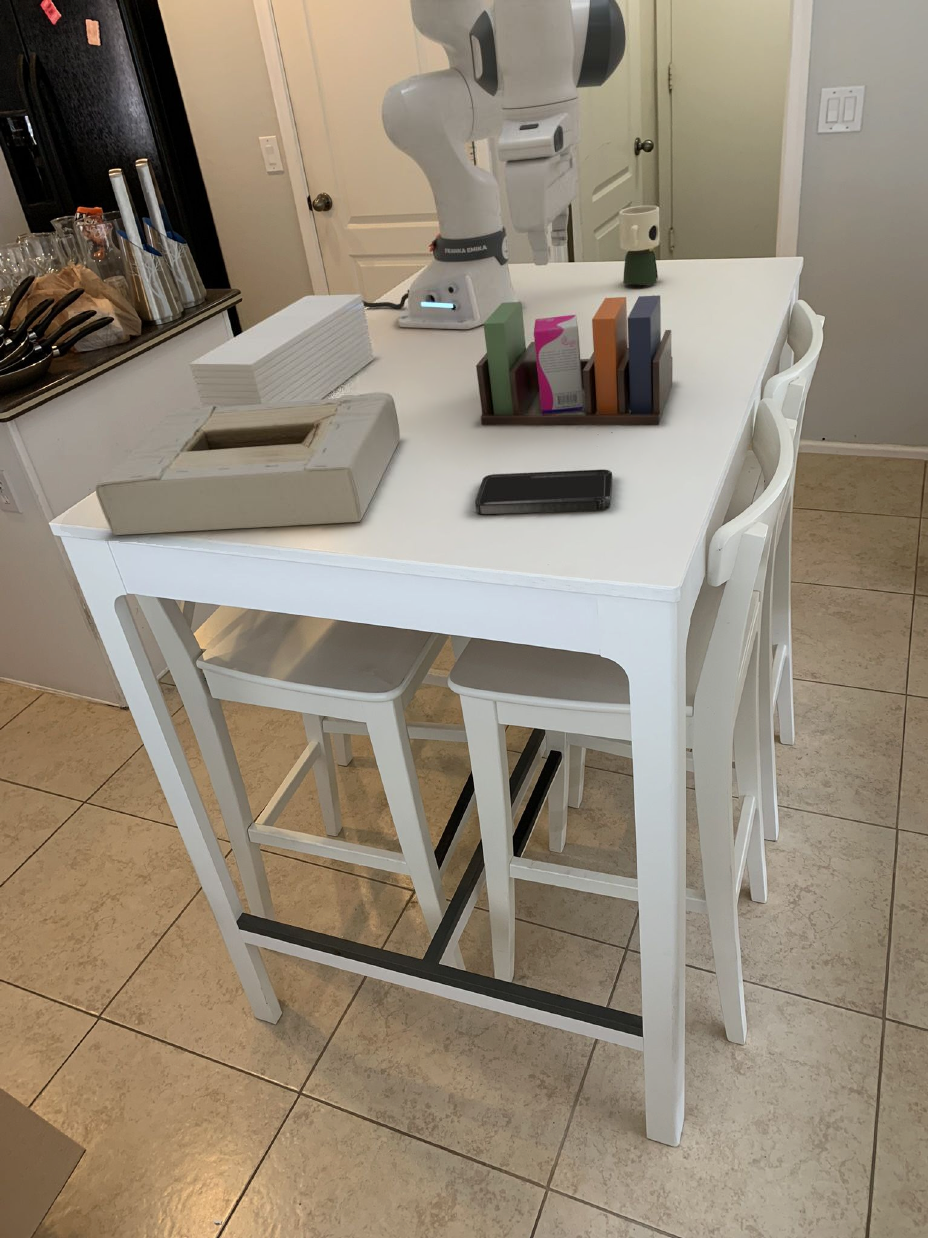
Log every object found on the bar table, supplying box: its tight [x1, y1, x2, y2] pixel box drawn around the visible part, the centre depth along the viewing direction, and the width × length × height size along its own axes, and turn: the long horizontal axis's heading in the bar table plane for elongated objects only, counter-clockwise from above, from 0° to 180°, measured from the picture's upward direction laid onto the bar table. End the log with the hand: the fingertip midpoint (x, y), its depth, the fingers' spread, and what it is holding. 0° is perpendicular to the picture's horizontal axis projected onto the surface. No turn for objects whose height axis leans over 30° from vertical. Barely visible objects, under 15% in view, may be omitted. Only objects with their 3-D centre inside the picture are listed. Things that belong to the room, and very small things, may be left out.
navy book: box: [627, 294, 662, 414], centre depth 118 cm, size 3×9×13 cm, turn 162°
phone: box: [474, 469, 613, 515], centre depth 103 cm, size 8×1×15 cm
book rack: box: [475, 329, 674, 426], centre depth 122 cm, size 24×14×8 cm, turn 72°
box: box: [95, 392, 401, 536], centre depth 114 cm, size 23×8×32 cm
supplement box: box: [533, 314, 584, 414], centre depth 122 cm, size 6×6×12 cm
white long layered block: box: [188, 293, 375, 407], centre depth 140 cm, size 32×11×11 cm, turn 157°
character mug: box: [618, 204, 661, 287], centre depth 165 cm, size 11×7×13 cm, turn 159°
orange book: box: [591, 296, 628, 414], centre depth 119 cm, size 3×9×13 cm, turn 162°
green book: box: [482, 301, 527, 415], centre depth 124 cm, size 3×9×13 cm, turn 162°
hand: (551, 253), depth 114 cm, fingers open, 8 cm apart
